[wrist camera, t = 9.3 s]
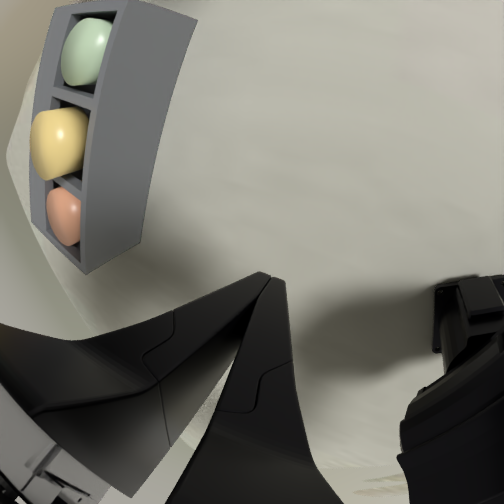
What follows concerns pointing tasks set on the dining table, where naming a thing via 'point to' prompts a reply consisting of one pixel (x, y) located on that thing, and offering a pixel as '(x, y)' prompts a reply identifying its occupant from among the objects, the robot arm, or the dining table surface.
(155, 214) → the dining table surface
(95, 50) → the button sage
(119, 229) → the grey compartment box
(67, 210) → the button terracotta
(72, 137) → the button ochre
